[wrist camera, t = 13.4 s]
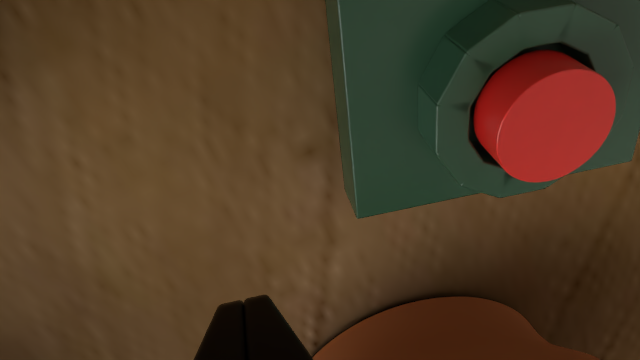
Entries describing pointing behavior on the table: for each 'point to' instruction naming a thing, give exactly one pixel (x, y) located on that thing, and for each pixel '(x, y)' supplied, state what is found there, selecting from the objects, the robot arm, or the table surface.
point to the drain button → (544, 115)
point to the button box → (459, 89)
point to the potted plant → (446, 334)
